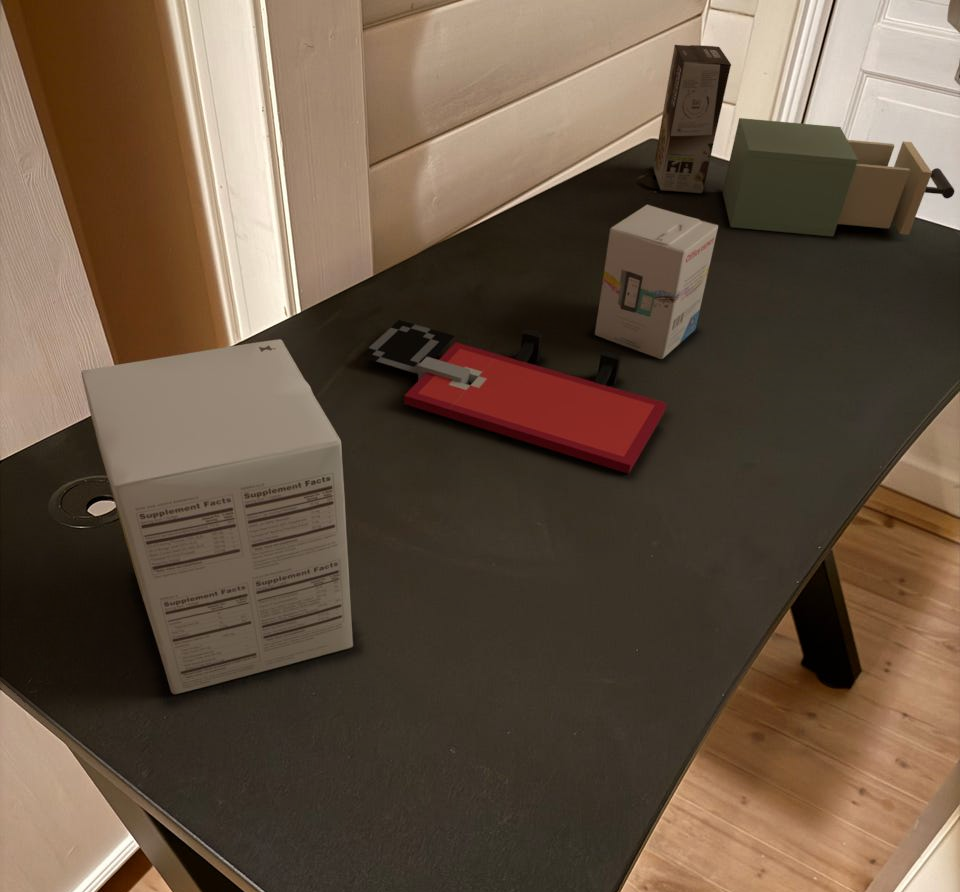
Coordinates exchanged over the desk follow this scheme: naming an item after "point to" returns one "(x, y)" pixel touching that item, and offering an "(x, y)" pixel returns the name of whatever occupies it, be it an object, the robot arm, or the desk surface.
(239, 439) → the supplement box
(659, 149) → the coffee box
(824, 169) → the cabinet
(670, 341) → the ink box
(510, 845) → the desk surface
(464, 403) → the red board with handle
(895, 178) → the drawer
